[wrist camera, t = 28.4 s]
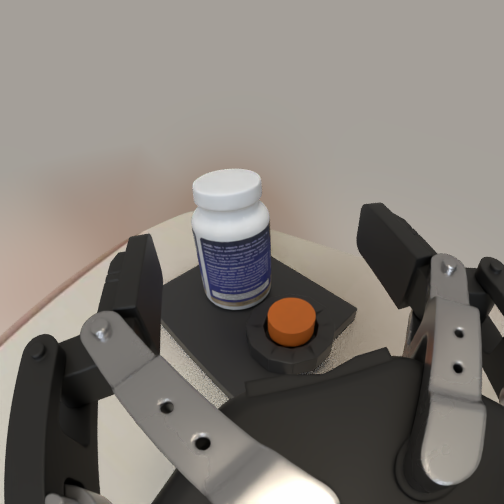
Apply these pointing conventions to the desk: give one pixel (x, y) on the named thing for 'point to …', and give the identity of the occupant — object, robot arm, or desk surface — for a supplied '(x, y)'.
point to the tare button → (291, 322)
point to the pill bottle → (232, 238)
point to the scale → (249, 329)
